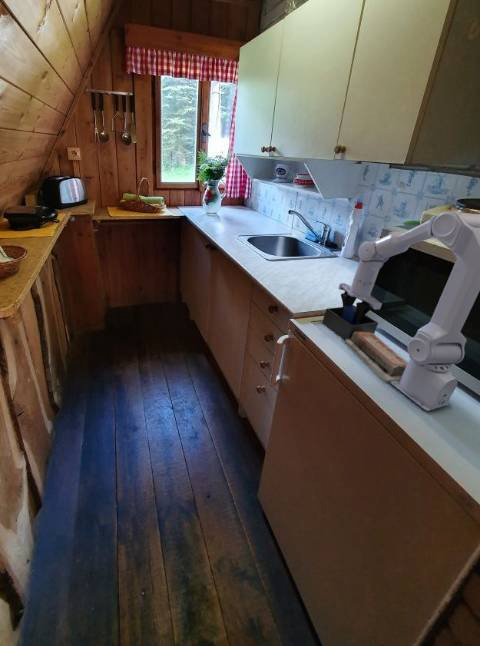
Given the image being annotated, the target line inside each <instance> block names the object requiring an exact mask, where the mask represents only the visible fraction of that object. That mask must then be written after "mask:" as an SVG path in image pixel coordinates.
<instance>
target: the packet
mask: <svg viewBox="0 0 480 646" xmlns="http://www.w3.org/2000/svg"><path fill="white" fill-rule="evenodd" d="M355 314H356V304H353V305H350V306H345V307H344V310H343V313H342V316H341V318H342V319H344V320H345V321H347V322H348V323H350V324H351V325H359V323H360V322H357V323H355V322H354V317H355Z"/></svg>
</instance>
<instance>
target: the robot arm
mask: <svg viewBox="0 0 480 646" xmlns="http://www.w3.org/2000/svg"><path fill="white" fill-rule="evenodd" d="M433 238H435V239H437V240H438V241H439V242H440V243H441V244H442V245H444V246H445V247H446V248H447V249H448V250H450V251H451V252H452V253H453V255H454V256H455V258H456V261H455V262H454V265H453V267H452V270H451V272H450V274H449V276H448V279H447V281H446V284H445V286H444V288H443V291H442V292H441V295H440V297H439V300H438V303H437V305H436V307H435V309H434V312H433V313H432V316H431V319H430V321H429V322H428V323H427V324H424V325H423V326H422V327H420V328H419V329H417V331H416V333H415V335H414V336H412V337H411V338H410V339H409V341H408V343H407V346H406V347H407V353H408V358H409V359H408V362H407V363H408V364H407V366H406V368H405V371H404V373H403V375H402V377H401V379H400V380H398V381H391V382H390V384H391V385H392V386H393V387H394V388H395V389H397V390H398V391H400V392H401V393H402V394H404V395H405V396H406V397H407V398H409V399H410V400H411V401H412V402H414V403H415V404H416V405H418V406H419V407H420V408H421V409H422V410H424V411H426V412H429V411H433V410H436V409H439V408H442V407H446V406H449V401H450V399H451V397H452V396H453V394H454V391H455V390H456V388H457V386H458V383H459V381H458V379H457V378H456V377H455V376H454V375H452V373H451V372H450V371H449V369H451V368H452V366H453V365H457V364H460V363H461V362H463V360H464V358H465V345H466V343H467V338H466V337H465V336H464V335H463V334H462V332H461V331H462V329H463V327H464V325H465V323H466V320H467V319H468V317H469V314H470V312H471V310H472V308H473V306H474V304H475V302H476V299H477V298H478V295H479V293H480V213H467V212H458V211H454V210H446V211H442V212H441V213H439V214H436V215H432V216H431V217H430V219H429V220H426V221H424V222H423V223H421V224H419V225H417V226H414V227H412V228H411V229H409V230H407V231H405V232H401V231H393V230H392V231H390V232H388V235H385V236H383V237H381V238H380V237H377V238H376V239H375V240H374V241H365V240H364V242H363V243H361V244H360V246H359V247H358V251H357V253H358V257H359V262H358V265H357V267H356V271H355V273H354V276H353V280H352V282H351V285H350V284H347V283H345V282H340V283H339V284H338V289H339V290H340V291H343V292H342V293H340V298H341V302H342V307H343V310H344V307H345V306H350V305H355V306H356V314H355V317H354V322H355V323H357V322H360V321H361V319H362V318H363V317H364V316H365V315H367V314H368V313H369V312H370V311H372V310H374V311H375V310H381V309H382V308H381V307H382V305H383V303H382V302H380V301H379V300H378V299H376V298H375V297H374V296H372V291H373V288H374V286H375V283H376V280H377V277H378V274H379V272H380V269H382V267H383V266H384V263H386V262H387V261H388V260H389V259H390V258H391V257H393V256H396V255H399V254H402V253H405V252H406V251H408V249H409V248H410V246H412V245H414V244H416V243H417V244H418V243H420V242H421V243H422V242H424V241H427V240H430V239H433ZM357 299H358V300H360V301H359V302H356V301H357ZM354 303H355V304H354Z"/></svg>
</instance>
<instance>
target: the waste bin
mask: <svg viewBox="0 0 480 646" xmlns="http://www.w3.org/2000/svg"><path fill="white" fill-rule="evenodd" d="M342 313H343V306H338V307H337V306H336V307H328V308H326V309H325V312H324V315H323V318H322V324H324V326H325V327H327V328H328V329H330V330H331V331H333V332H334V333H335V334H336V335H338V336H339V337H341V338H342V339H343V340H344V341H345V340H346V339H351V337H352V336H353V333H354V332H370V333H372V334H374V335H375V333H376V331H377V328H378V325H379V322H378V321H376V320H375V319H373V318H372V317H370V316H368V315H367V314H365V316H364V317H363V318H362V319H361V321H360V323H359V325H351V324H350V323H348V322H347V321H345V320H344V319H342V318H341V316H342Z"/></svg>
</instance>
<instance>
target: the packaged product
mask: <svg viewBox="0 0 480 646" xmlns="http://www.w3.org/2000/svg"><path fill="white" fill-rule="evenodd" d="M344 343H345V344H346V345H347V347H349V348H350V349H351V350H352V351H353V352H354V354H356V355H357V356H358V358H360V359H361V360H362V362H363V363H365V364H366V365H367V366H368V367H369V368H370V369H371V370H372V371H373V372H374V373H375V374H376V375H377V376H378V377H379V378H380V379H381V380H382V381H383V382H384V383H390V382H391V381H398V380H400V379H401V377H402V375H403V373H404V371H405V368H406V366H407V364H408V362H407V361H405V360H404V359H403V358H402V357H401V356H399V355H398V354H397V352H395V351H394V350H393V349H391V347H389V345H387V344H386V343H385V342H383V341H382V339H380V338H379V337H378V336H376V335H375V333H374V334H372V333H370V332H354V333H353V336H352V337H351V339H346V340H345V339H344ZM390 384H391V383H390Z"/></svg>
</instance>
